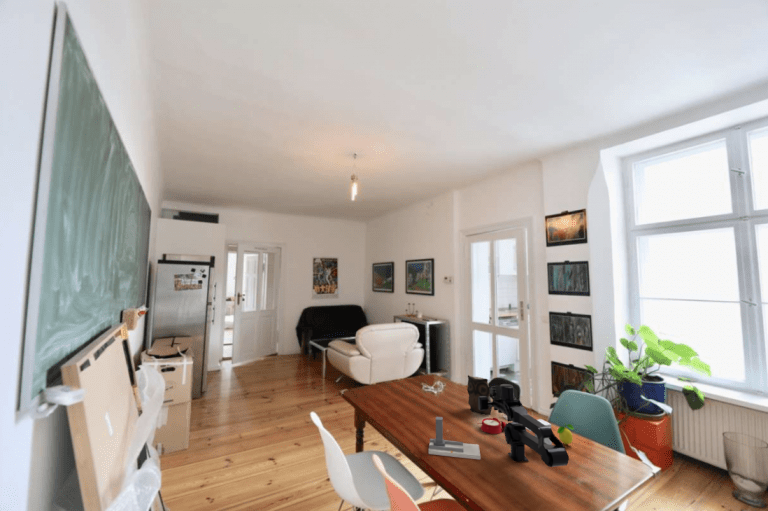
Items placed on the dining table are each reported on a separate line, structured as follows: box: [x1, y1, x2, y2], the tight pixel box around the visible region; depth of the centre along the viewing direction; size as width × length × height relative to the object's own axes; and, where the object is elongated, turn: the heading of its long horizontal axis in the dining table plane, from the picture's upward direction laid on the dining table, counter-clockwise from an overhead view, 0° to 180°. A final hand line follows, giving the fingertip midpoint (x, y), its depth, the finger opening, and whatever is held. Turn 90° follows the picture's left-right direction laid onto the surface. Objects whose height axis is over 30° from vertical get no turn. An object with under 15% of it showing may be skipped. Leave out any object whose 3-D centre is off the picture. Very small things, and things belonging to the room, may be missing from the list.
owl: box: [466, 374, 493, 416], centre depth 194 cm, size 13×13×20 cm
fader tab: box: [433, 416, 446, 446], centre depth 150 cm, size 5×4×12 cm
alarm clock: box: [477, 417, 508, 435], centre depth 170 cm, size 10×6×15 cm
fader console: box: [428, 438, 481, 461], centre depth 148 cm, size 22×10×3 cm, turn 78°
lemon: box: [557, 422, 575, 446], centre depth 155 cm, size 7×6×10 cm
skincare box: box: [534, 418, 553, 445], centre depth 150 cm, size 6×4×12 cm
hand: (488, 397), depth 168 cm, fingers open, 9 cm apart
